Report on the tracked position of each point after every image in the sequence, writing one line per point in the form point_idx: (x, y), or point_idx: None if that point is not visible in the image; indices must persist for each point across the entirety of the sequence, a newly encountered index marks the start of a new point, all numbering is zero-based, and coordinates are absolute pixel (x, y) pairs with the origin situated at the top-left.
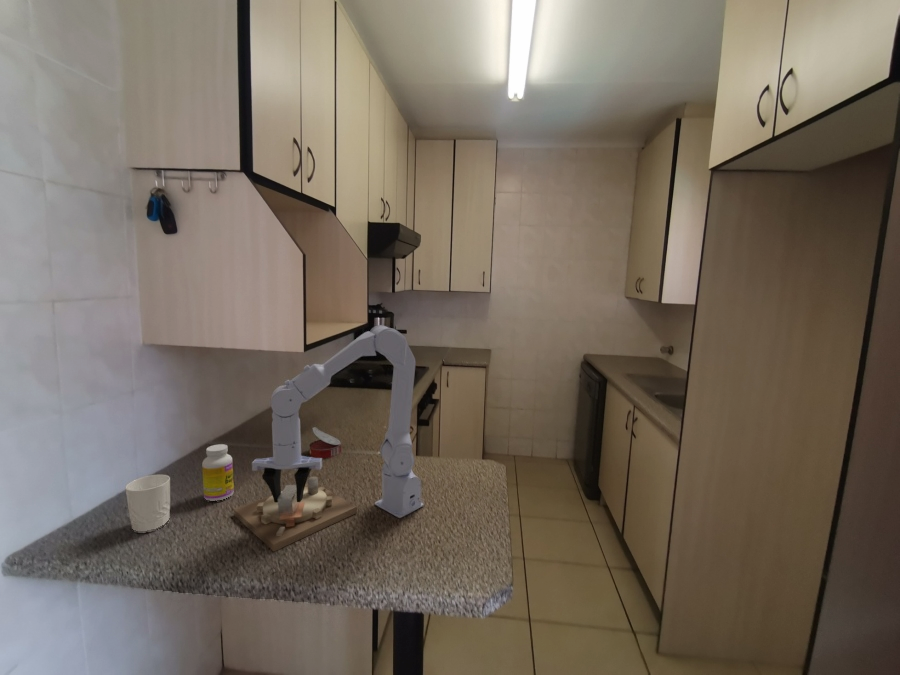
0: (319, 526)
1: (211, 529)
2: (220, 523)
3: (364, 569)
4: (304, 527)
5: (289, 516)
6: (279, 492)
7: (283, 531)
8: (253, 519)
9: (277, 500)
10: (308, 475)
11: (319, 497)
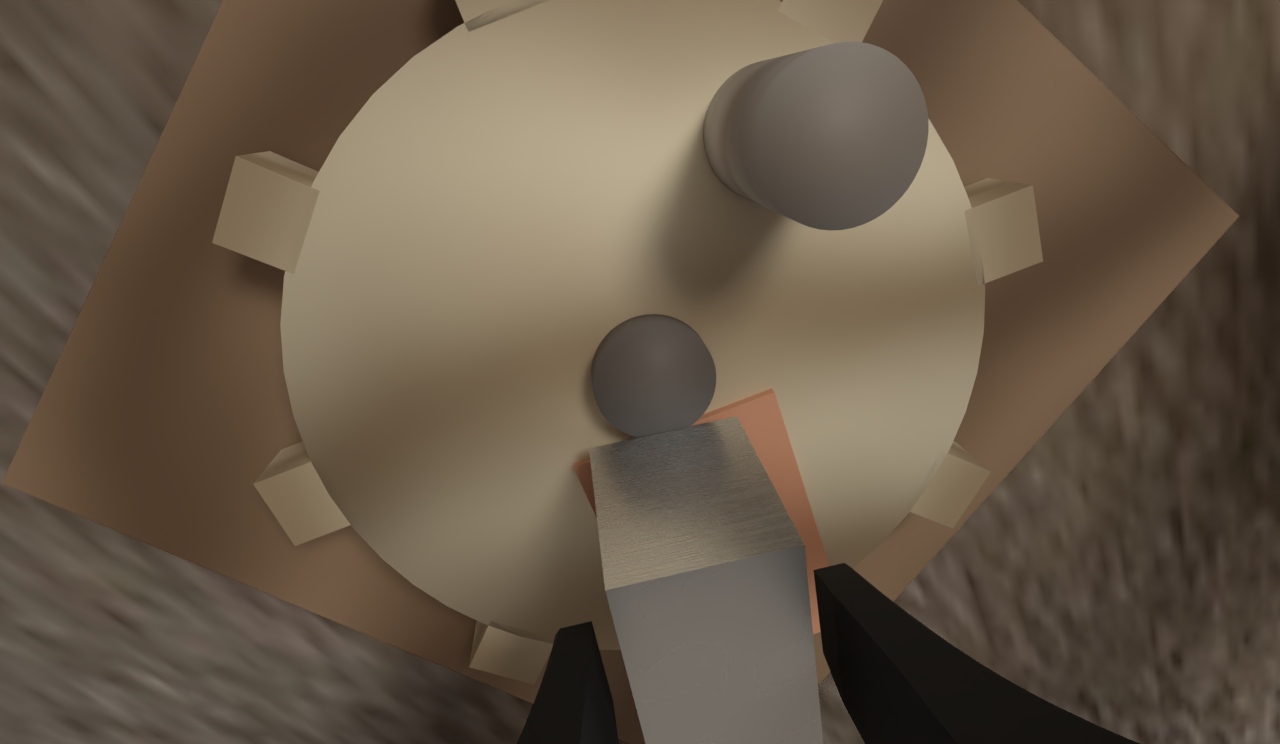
0: None
1: (70, 654)
2: (57, 577)
3: (1252, 739)
4: None
5: None
6: (599, 710)
7: None
8: (365, 588)
9: (613, 718)
10: (1097, 731)
11: (894, 248)
